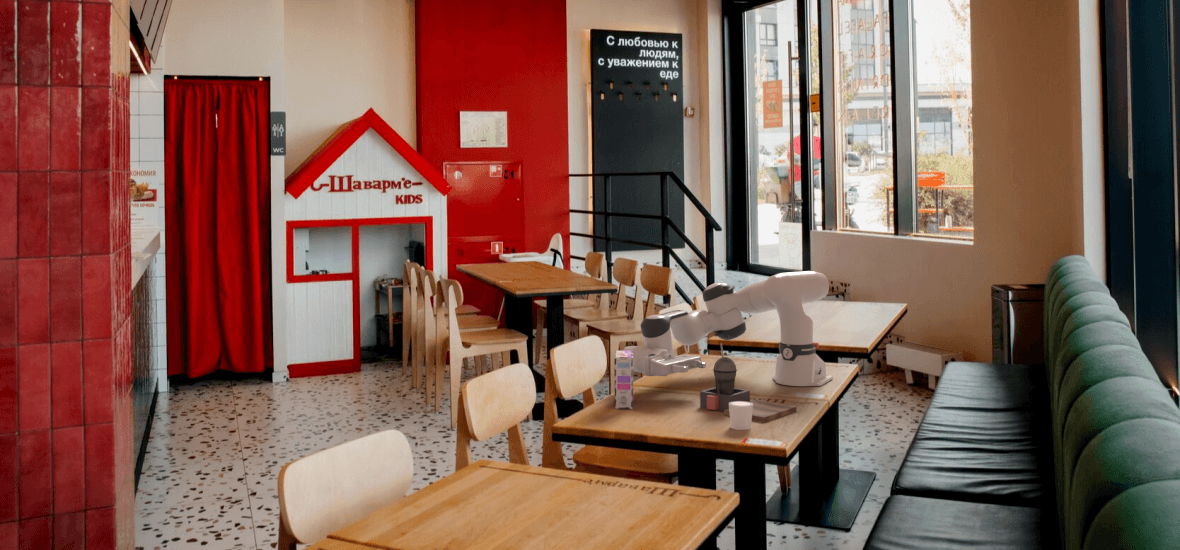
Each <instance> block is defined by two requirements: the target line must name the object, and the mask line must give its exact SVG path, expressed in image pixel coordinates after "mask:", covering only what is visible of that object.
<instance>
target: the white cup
mask: <svg viewBox="0 0 1180 550" xmlns="http://www.w3.org/2000/svg"><path fill="white" fill-rule="evenodd" d="M751 402H752V401H750V402H746V401H733V402H729V413H730V416H729V423H730V428H731V429H732V430H737V431H745V430H746V431H747V430H750V429H751V428H752V422H753V420H752V411H753V403H751Z"/></svg>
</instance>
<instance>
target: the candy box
mask: <svg viewBox="0 0 1180 550" xmlns="http://www.w3.org/2000/svg"><path fill="white" fill-rule="evenodd" d="M613 360H614V365H613V366H614V370H613V371H614V377H613V378H614V409H615V410H633V409H634V371H633V351H623V350H615V355H614V359H613Z"/></svg>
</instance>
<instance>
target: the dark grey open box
mask: <svg viewBox="0 0 1180 550" xmlns="http://www.w3.org/2000/svg"><path fill="white" fill-rule="evenodd" d="M750 392H751V390H749V389H743V388H737V387H734V394H732V395H724V394H718V393H716V386H715V387H711V388H707V389H703V390H700V391H699V407H700V408H704V409H708V410H712V411H719V412H724V410H726V409H729V402H733V401H746V402H751V401H750V400H751V393H750Z"/></svg>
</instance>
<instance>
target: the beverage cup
mask: <svg viewBox="0 0 1180 550" xmlns="http://www.w3.org/2000/svg"><path fill="white" fill-rule="evenodd" d="M719 344H720V352H721V357H720V358H717V360H716V361H715V363H714V366H713V368H712V371H713V374H714V381H715V383H714V384H715V387H716V393H718V394H724V395H732V394H734V388H735V384H736V383H735V382H736V376H737V371H738V370H737V365H736V363H735V362H734V360H733V359H731V358H730V357H729V356H728V357H726V356H724V349H723V343H722V342H721V343H719Z"/></svg>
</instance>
